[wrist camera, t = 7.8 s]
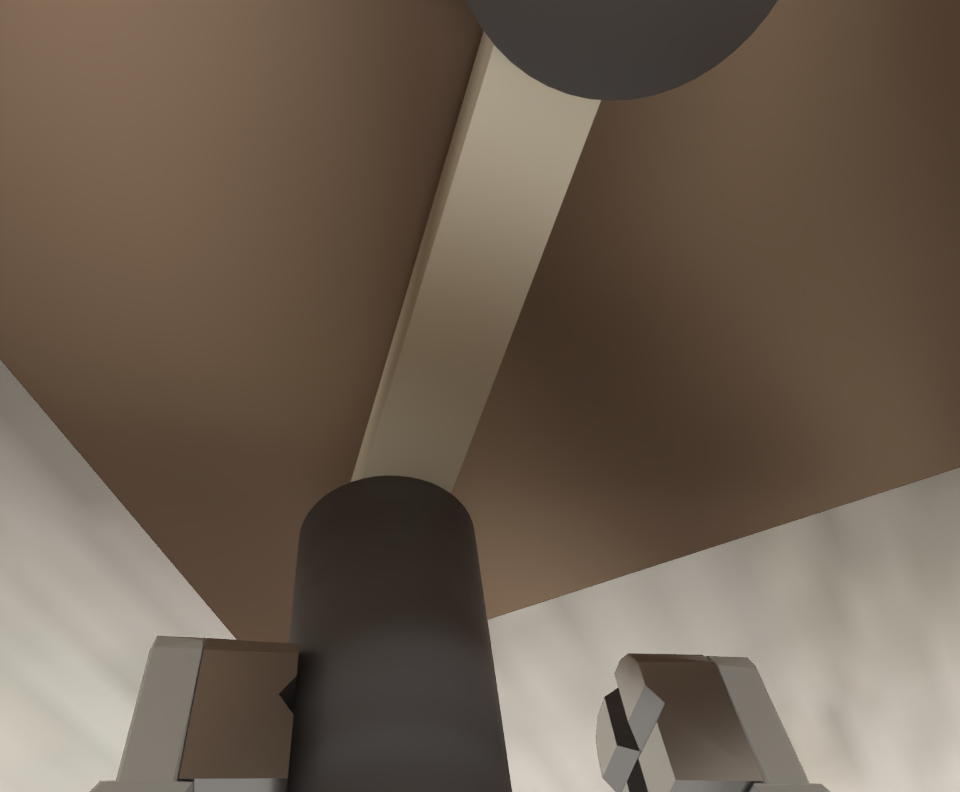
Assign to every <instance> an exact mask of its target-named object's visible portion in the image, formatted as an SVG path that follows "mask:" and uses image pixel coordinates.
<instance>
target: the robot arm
mask: <svg viewBox="0 0 960 792" xmlns="http://www.w3.org/2000/svg"><path fill="white" fill-rule="evenodd" d="M298 655H299V644H295V643H278V642H262V641H245V640H229V639H213V638H207V639H206V638H191V637H168V636H157V637H156V639H155V641H154V643H153V645H152V647H151V649H150V652H149V656H148V660H147V663H146V667H145V671H144V675H143V679H142V683H141V686H140V690H139V694H138V698H137V702H136V706H135V709H134V713H133V717H132V721H131V725H130V728H129V732H128V736H127V740H126V744H125V748H124V751H123V755H122V759H121V763H120V767H119V771H118V774H117V778H116V781H100V782H99V783H98V784H97V785H96V786H95V787H94V788H93V789H92V790H91V791H90V792H287V782H288V771H289V760H290V749H291V738H292V727H293V716H294V715H293V713H292V712H291V710H292V708H293V706H294V701H295V690H296V679H297V667H298ZM615 677H616V680H617V684H618V688H617V689H616V690H614V691H613V692H611V693H610V694H608V695H607V696H605V697H604V700H603V702H602V705H601V708H600V710H599V713H598V718H597V730H596V744H597V754H598V760H599V765H600V769H601V773H602V778H603V779H604V780H605V781H606V782H607V783H608V784H609V785H610V786H611V787H612V788H613V789H614V790H615V792H830V791H829V790H828V789H827V788H826V787H824V786H823V785H822V784H813V783H809V781H808V778H807V776H806V774H805V772H804V770H803V768H802V765H801V763H800V761H799V759H798V757H797V755H796V752H795V750H794V748H793V746H792V744H791V742H790V740H789V737H788V735H787V733H786V731H785V729H784V727H783V724H782V722H781V720H780V718H779V716H778V714H777V711H776V709H775V707H774V705H773V703H772V701H771V699H770V696H769V694H768V692H767V690H766V688H765V686H764V683H763V681H762V679H761V677H760V675H759V673H758V670H757V668H756V666H755V665H754V664H753V663H752V662H751V661H750V660H749V659H748V658H745V657H718V656H706V657H705V656H703V655H677V654H627V655H626V656H624V657H623V658H622V659H621V660H620V662H619V664H618V667H617V669H616V671H615Z"/></svg>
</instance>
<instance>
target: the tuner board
mask: <svg viewBox="0 0 960 792" xmlns="http://www.w3.org/2000/svg"><path fill="white" fill-rule="evenodd" d="M482 35H483V29H482V28H481V26H480V25H479V23H478V21H477V19H476V18H475V16H474V14H473V12H472V11H471V9H470V7H469V5H468V3H467V1H466V0H0V359H1V361H2V362H3V363H4V364H5V365H6V367H7V368H8V369H9V370H10V371H11V373H12V374H13V375H14V376H15V377H16V378H17V380H18V381H19V382H20V383H21V384H22V386H23V387H24V388H25V389H26V390H27V391H28V393H29V394H30V395H31V396H32V397H33V399H34V400H35V401H36V402H37V403H38V405H39V406H40V407H41V408H42V409H43V410H44V412H45V413H46V414H47V415H48V416H49V418H50V419H51V420H52V421H53V422H54V423H55V425H56V426H57V427H58V428H59V429H60V431H61V432H62V433H63V434H64V435H65V437H66V438H67V439H68V440H69V441H70V442H71V444H72V445H73V446H74V447H75V448H76V450H77V451H78V452H79V453H80V454H81V456H82V457H83V458H84V459H85V460H86V461H87V463H88V464H89V465H90V466H91V467H92V469H93V470H94V471H95V472H96V473H97V474H98V476H99V477H100V478H101V479H102V480H103V482H104V483H105V484H106V485H107V486H108V488H109V489H110V490H111V491H112V492H113V493H114V495H115V496H116V497H117V498H118V499H119V501H120V502H121V503H122V504H123V505H124V506H125V508H126V509H127V510H128V511H129V512H130V514H131V515H132V516H133V517H134V518H135V520H136V521H137V522H138V523H139V524H140V525H141V527H142V528H143V529H144V530H145V531H146V533H147V534H148V535H149V536H150V537H151V539H152V540H153V541H154V542H155V543H156V544H157V546H158V547H159V548H160V549H161V550H162V552H163V553H164V554H165V555H166V556H167V557H168V559H169V560H170V561H171V562H172V563H173V565H174V566H175V567H176V568H177V569H178V571H179V572H180V573H181V574H182V575H183V576H184V578H185V579H186V580H187V581H188V582H189V584H190V585H191V586H192V587H193V588H194V589H195V591H196V592H197V593H198V594H199V595H200V597H201V598H202V599H203V600H204V601H205V603H206V604H207V605H208V606H209V607H210V608H211V610H212V611H213V612H214V613H215V614H216V616H217V617H218V618H219V619H220V620H221V622H222V623H223V624H224V625H225V626H226V627H227V629H228V630H229V631H230V632H231V633H232V635H233V636H234V637H235V638H236V639H237V640H245V641H262V642H278V643H289V634H290V624H291V614H292V604H293V594H294V584H295V573H296V563H297V553H298V543H299V535H300V529H301V527H302V524H303V521H304V519H305V518H306V516H307V514H308V513H309V511H310V510H311V509H312V507H313V506H314V505H315V504H316V503H317V502H318V501H319V500H320V499H321V498H323V497H324V496H325V495H327V494H328V493H330V492H331V491H333V490H335V489H337V488H338V487H340V486H343V485H345V484H348V483H350V482H351V479H352V476H353V472H354V469H355V465H356V462H357V459H358V455H359V452H360V448H361V445H362V442H363V438H364V435H365V431H366V428H367V425H368V421H369V418H370V415H371V411H372V408H373V404H374V401H375V398H376V394H377V391H378V387H379V384H380V381H381V377H382V374H383V370H384V367H385V364H386V360H387V357H388V353H389V350H390V347H391V343H392V340H393V337H394V333H395V330H396V326H397V323H398V320H399V316H400V313H401V309H402V306H403V303H404V299H405V296H406V292H407V289H408V286H409V282H410V279H411V276H412V272H413V269H414V265H415V262H416V259H417V255H418V252H419V248H420V245H421V242H422V238H423V235H424V231H425V228H426V225H427V221H428V218H429V214H430V211H431V208H432V204H433V201H434V198H435V194H436V191H437V187H438V184H439V181H440V177H441V174H442V170H443V167H444V164H445V160H446V157H447V153H448V150H449V147H450V143H451V140H452V137H453V133H454V130H455V126H456V123H457V120H458V116H459V113H460V109H461V106H462V103H463V99H464V96H465V92H466V89H467V86H468V82H469V79H470V75H471V72H472V69H473V65H474V62H475V59H476V55H477V52H478V48H479V45H480V42H481V38H482ZM959 467H960V0H778V1H777V2H776V4H775V5H774V7H773V8H772V10H771V11H770V13H769V14H768V16H767V17H766V18H765V19H764V20H763V22H762V23H761V24H760V25H759V27H758V28H757V29H756V30H755V31H754V33H753V34H752V35H751V36H750V37H749V38H748V39H747V40H746V41H745V42H744V43H743V44H742V45H741V46H740V47H739V48H738V49H737V50H736V51H735V52H733V53H732V54H731V55H729V56H728V57H727V58H726V59H724V60H723V61H722V62H721V63H719V64H718V65H717V66H715V67H714V68H712V69H711V70H709V71H707V72H706V73H704V74H703V75H701V76H699V77H698V78H696V79H694V80H692V81H690V82H688V83H686V84H684V85H681V86H679V87H677V88H675V89H672V90H669V91H666V92H663V93H660V94H657V95H654V96H649V97H643V98H638V99H633V100H617V101H606V100H601V102H600V105H599V107H598V110H597V112H596V115H595V118H594V120H593V123H592V125H591V128H590V131H589V133H588V136H587V139H586V141H585V144H584V146H583V149H582V152H581V154H580V157H579V160H578V162H577V165H576V167H575V170H574V173H573V175H572V178H571V181H570V183H569V186H568V188H567V191H566V194H565V196H564V199H563V202H562V204H561V207H560V209H559V212H558V215H557V217H556V220H555V223H554V225H553V228H552V230H551V233H550V236H549V238H548V241H547V244H546V246H545V249H544V251H543V254H542V257H541V259H540V262H539V264H538V267H537V270H536V272H535V275H534V278H533V280H532V283H531V285H530V288H529V291H528V293H527V296H526V299H525V301H524V304H523V306H522V309H521V312H520V314H519V317H518V320H517V322H516V325H515V327H514V330H513V333H512V335H511V338H510V341H509V343H508V346H507V348H506V351H505V354H504V356H503V359H502V362H501V364H500V367H499V369H498V372H497V375H496V377H495V380H494V383H493V385H492V388H491V390H490V393H489V396H488V398H487V401H486V403H485V406H484V409H483V411H482V414H481V417H480V419H479V422H478V424H477V427H476V430H475V432H474V435H473V438H472V440H471V443H470V445H469V448H468V451H467V453H466V456H465V459H464V461H463V464H462V466H461V469H460V472H459V474H458V477H457V480H456V482H455V485H454V487H453V490H452V493H451V494H452V495H453V496H454V497H456V498H457V499H458V500H459V501H460V502H461V503H462V505H463V506H464V507H465V508H466V510H467V511H468V513H469V515H470V517H471V519H472V522H473V526H474V531H475V537H476V544H477V551H478V558H479V565H480V572H481V579H482V586H483V593H484V600H485V607H486V614H487V620H488V619H491V618H494V617H497V616H500V615H503V614H506V613H510V612H513V611H516V610H519V609H522V608H525V607H528V606H531V605H534V604H537V603H541V602H544V601H547V600H550V599H553V598H556V597H559V596H562V595H565V594H568V593H572V592H575V591H578V590H581V589H584V588H587V587H590V586H593V585H596V584H599V583H603V582H606V581H609V580H612V579H615V578H618V577H621V576H624V575H627V574H630V573H634V572H637V571H640V570H643V569H646V568H649V567H652V566H655V565H658V564H661V563H665V562H668V561H671V560H674V559H677V558H680V557H683V556H686V555H689V554H692V553H696V552H699V551H702V550H705V549H708V548H711V547H714V546H717V545H720V544H723V543H727V542H730V541H733V540H736V539H739V538H742V537H745V536H748V535H751V534H754V533H758V532H761V531H764V530H767V529H770V528H773V527H776V526H779V525H782V524H785V523H789V522H792V521H795V520H798V519H801V518H804V517H807V516H810V515H813V514H816V513H820V512H823V511H826V510H829V509H832V508H835V507H838V506H841V505H844V504H847V503H851V502H854V501H857V500H860V499H863V498H866V497H869V496H872V495H875V494H878V493H882V492H885V491H888V490H891V489H894V488H897V487H900V486H903V485H906V484H909V483H913V482H916V481H919V480H922V479H925V478H928V477H931V476H934V475H937V474H940V473H944V472H947V471H950V470H953V469H956V468H959Z"/></svg>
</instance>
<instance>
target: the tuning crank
mask: <svg viewBox="0 0 960 792" xmlns="http://www.w3.org/2000/svg"><path fill="white" fill-rule="evenodd" d="M466 1H467V3H468V5H469V7H470V9H471V11H472V12H473V14H474V16H475V18H476V19H477V21H478V23H479V25H480V26H481V28H482V29H483V35H482V38H481V42H480V45H479V48H478V52H477V55H476V59H475V62H474V65H473V69H472V72H471V75H470V79H469V82H468V86H467V89H466V92H465V96H464V99H463V103H462V106H461V109H460V113H459V116H458V120H457V123H456V126H455V130H454V133H453V137H452V140H451V143H450V147H449V150H448V153H447V157H446V160H445V164H444V167H443V170H442V174H441V177H440V181H439V184H438V187H437V191H436V194H435V198H434V201H433V204H432V208H431V211H430V214H429V218H428V221H427V225H426V228H425V231H424V235H423V238H422V242H421V245H420V248H419V252H418V255H417V259H416V262H415V265H414V269H413V272H412V276H411V279H410V282H409V286H408V289H407V292H406V296H405V299H404V303H403V306H402V309H401V313H400V316H399V320H398V323H397V326H396V330H395V333H394V337H393V340H392V343H391V347H390V350H389V353H388V357H387V360H386V364H385V367H384V370H383V374H382V377H381V381H380V384H379V387H378V391H377V394H376V398H375V401H374V404H373V408H372V411H371V415H370V418H369V421H368V425H367V428H366V431H365V435H364V438H363V442H362V445H361V448H360V452H359V455H358V459H357V462H356V465H355V469H354V472H353V476H352V479H351V482H350V483H348V484H345V485H343V486H340V487H338V488H337V489H335V490H333V491H331V492H330V493H328V494H327V495H325V496H324V497H323V498H321V499H320V500H319V501H318V502H317V503H316V504H315V505H314V506H313V507H312V509H311V510H310V511H309V513H308V514H307V516H306V518H305V519H304V521H303V524H302V527H301V529H300V535H299V543H298V553H297V563H296V573H295V584H294V594H293V604H292V614H291V624H290V634H289V643H295V644H299V655H298V667H297V679H296V690H295V701H294V706H293V708H292V710H291V712H292V713H293V715H294V716H293V727H292V738H291V749H290V760H289V771H288V782H287V792H512V788H511V781H510V774H509V767H508V761H507V754H506V747H505V740H504V733H503V726H502V719H501V712H500V705H499V698H498V691H497V684H496V677H495V670H494V663H493V656H492V649H491V642H490V635H489V628H488V621H487V614H486V607H485V600H484V593H483V586H482V579H481V572H480V565H479V558H478V551H477V544H476V537H475V531H474V526H473V522H472V519H471V517H470V515H469V513H468V511H467V510H466V508H465V507H464V506H463V505H462V503H461V502H460V501H459V500H458V499H457V498H456V497H454V496H453V495H452V494H451V493H452V490H453V487H454V485H455V482H456V480H457V477H458V474H459V472H460V469H461V466H462V464H463V461H464V459H465V456H466V453H467V451H468V448H469V445H470V443H471V440H472V438H473V435H474V432H475V430H476V427H477V424H478V422H479V419H480V417H481V414H482V411H483V409H484V406H485V403H486V401H487V398H488V396H489V393H490V390H491V388H492V385H493V383H494V380H495V377H496V375H497V372H498V369H499V367H500V364H501V362H502V359H503V356H504V354H505V351H506V348H507V346H508V343H509V341H510V338H511V335H512V333H513V330H514V327H515V325H516V322H517V320H518V317H519V314H520V312H521V309H522V306H523V304H524V301H525V299H526V296H527V293H528V291H529V288H530V285H531V283H532V280H533V278H534V275H535V272H536V270H537V267H538V264H539V262H540V259H541V257H542V254H543V251H544V249H545V246H546V244H547V241H548V238H549V236H550V233H551V230H552V228H553V225H554V223H555V220H556V217H557V215H558V212H559V209H560V207H561V204H562V202H563V199H564V196H565V194H566V191H567V188H568V186H569V183H570V181H571V178H572V175H573V173H574V170H575V167H576V165H577V162H578V160H579V157H580V154H581V152H582V149H583V146H584V144H585V141H586V139H587V136H588V133H589V131H590V128H591V125H592V123H593V120H594V118H595V115H596V112H597V110H598V107H599V105H600V102H601V100H606V101H617V100H633V99H638V98H643V97H649V96H654V95H657V94H660V93H663V92H666V91H669V90H672V89H675V88H677V87H679V86H681V85H684V84H686V83H688V82H690V81H692V80H694V79H696V78H698V77H699V76H701V75H703V74H704V73H706V72H707V71H709V70H711V69H712V68H714V67H715V66H717V65H718V64H719V63H721V62H722V61H723V60H724V59H726V58H727V57H728V56H729V55H731V54H732V53H733V52H735V51H736V50H737V49H738V48H739V47H740V46H741V45H742V44H743V43H744V42H745V41H746V40H747V39H748V38H749V37H750V36H751V35H752V34H753V33H754V31H755V30H756V29H757V28H758V27H759V25H760V24H761V23H762V22H763V20H764V19H765V18H766V17H767V16H768V14H769V13H770V11H771V10H772V8H773V7H774V5H775V4H776V2H777V1H778V0H466Z"/></svg>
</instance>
